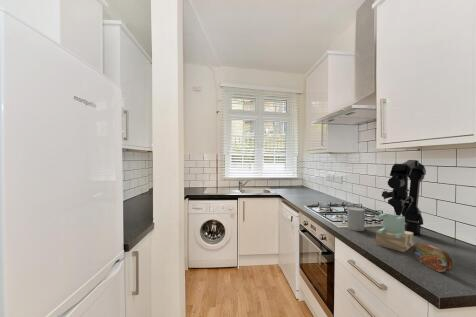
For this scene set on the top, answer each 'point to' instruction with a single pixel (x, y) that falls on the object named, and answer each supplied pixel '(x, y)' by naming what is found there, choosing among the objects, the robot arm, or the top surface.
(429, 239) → the top surface
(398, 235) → the green notched block
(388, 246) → the beige ridged block
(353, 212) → the grey round cylinder
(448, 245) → the top surface
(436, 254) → the tin
